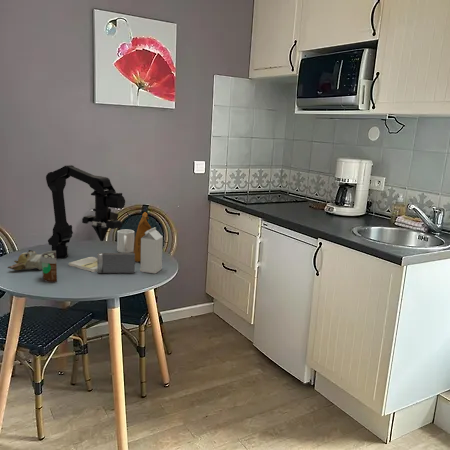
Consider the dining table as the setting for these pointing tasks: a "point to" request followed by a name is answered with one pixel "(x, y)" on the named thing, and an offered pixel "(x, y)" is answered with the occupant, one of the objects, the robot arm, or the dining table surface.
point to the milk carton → (151, 251)
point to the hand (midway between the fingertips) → (101, 240)
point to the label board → (85, 264)
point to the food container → (49, 266)
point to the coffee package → (140, 236)
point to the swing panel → (115, 262)
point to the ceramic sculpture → (27, 261)
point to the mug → (125, 241)
